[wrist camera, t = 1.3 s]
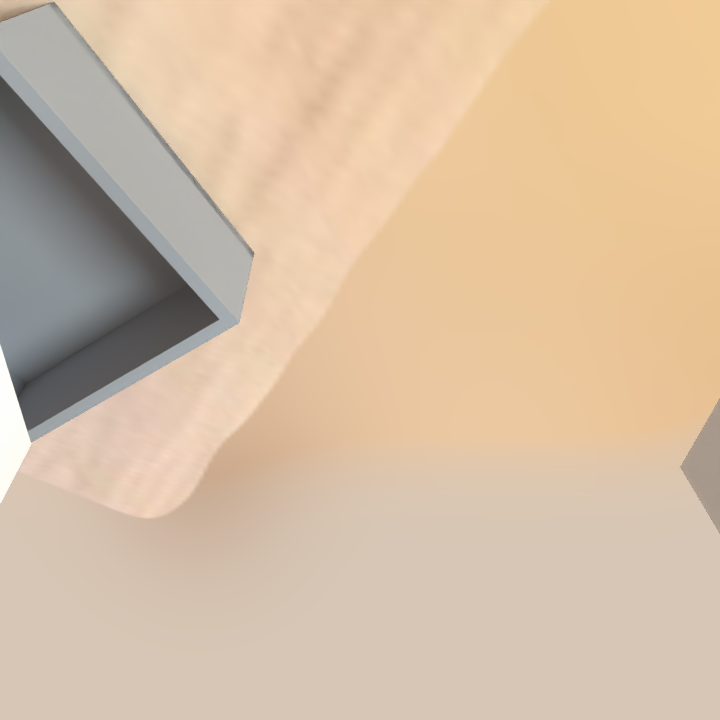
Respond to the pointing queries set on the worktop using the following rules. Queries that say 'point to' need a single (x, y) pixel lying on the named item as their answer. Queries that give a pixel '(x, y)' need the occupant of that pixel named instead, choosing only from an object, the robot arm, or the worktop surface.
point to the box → (97, 232)
